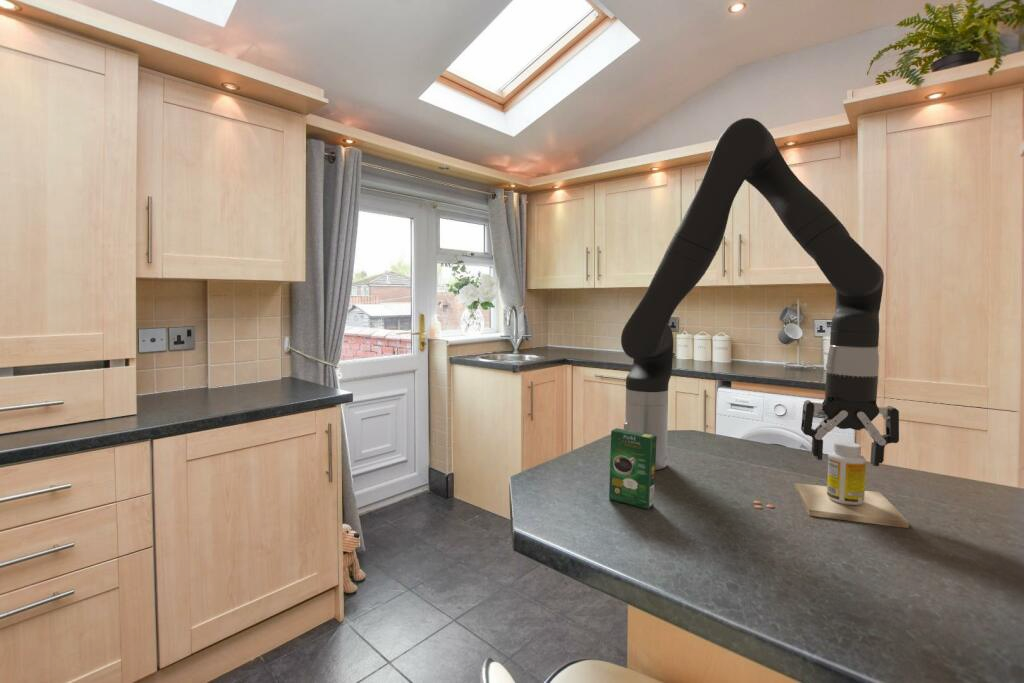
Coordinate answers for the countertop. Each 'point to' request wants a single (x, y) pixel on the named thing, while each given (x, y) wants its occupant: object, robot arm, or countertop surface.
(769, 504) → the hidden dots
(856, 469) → the supplement bottle
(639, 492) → the coffee box
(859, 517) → the oak board
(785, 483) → the countertop surface
